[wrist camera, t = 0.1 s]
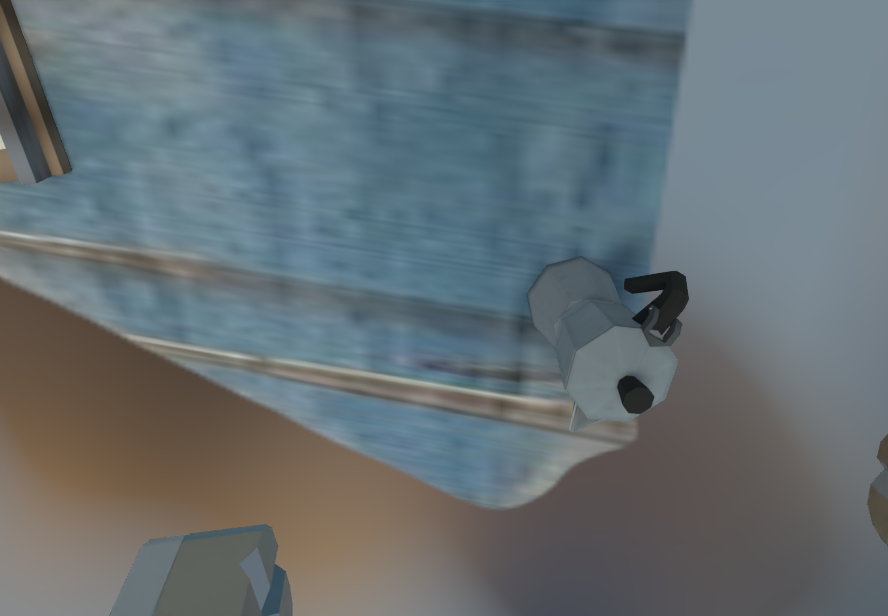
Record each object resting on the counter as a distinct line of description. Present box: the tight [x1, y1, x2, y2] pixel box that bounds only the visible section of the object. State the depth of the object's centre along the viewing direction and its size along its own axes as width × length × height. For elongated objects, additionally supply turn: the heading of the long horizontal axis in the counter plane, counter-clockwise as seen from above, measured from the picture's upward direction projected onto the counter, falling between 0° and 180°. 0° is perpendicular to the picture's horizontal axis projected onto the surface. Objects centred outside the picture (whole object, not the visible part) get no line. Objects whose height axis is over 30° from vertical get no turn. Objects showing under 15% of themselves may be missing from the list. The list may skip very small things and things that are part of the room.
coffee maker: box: [527, 256, 689, 432], centre depth 52 cm, size 15×9×18 cm, turn 149°
